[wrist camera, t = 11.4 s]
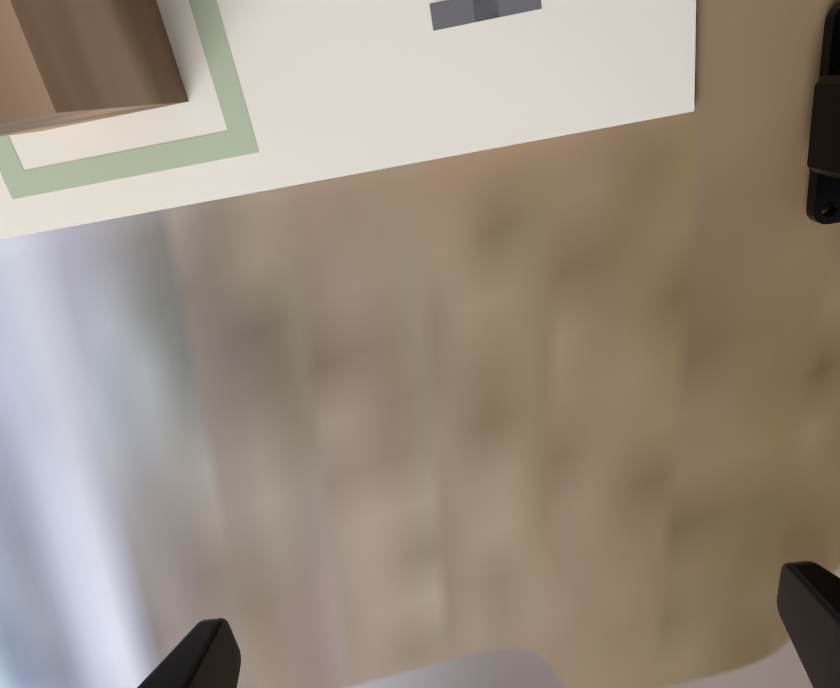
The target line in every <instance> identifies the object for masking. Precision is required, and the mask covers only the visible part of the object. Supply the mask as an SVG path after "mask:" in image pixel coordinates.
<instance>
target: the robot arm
mask: <svg viewBox="0 0 840 688" xmlns="http://www.w3.org/2000/svg"><path fill="white" fill-rule="evenodd" d="M807 165H808V167H809V168H810V178H809V188H808V198H807V208H806V210H807V215H808V217H809V218H810V219H811V220H813V221H815V222H818V223H821V224H832V223H838V222H840V3H838V4H837V5H835V6H834V7H833V8H832V9H831V10H830V12H829V13H828V15H827V17H826V21H825V25H824V35H823V46H822V56H821V66H820V76H819V81H818V82H817V84H816V85H815V88H814V99H813V109H812V119H811V130H810V140H809V151H808V161H807ZM827 202H830V207H829V210H828V211H827V212H826V213H823V214H822V211H821V210H822V207H823V206H824V205H825V204H826V203H827ZM777 607H778V611H779V614H780V617H781V619H782V621H783V623H784V626H785V628H786V630H787V632H788V634H789V636H790V638H791V641H792V642H793V645H794V647H795V649H796V651H797V653H798V656H799V658H800V660H801V662H802V664H803V666H804V668H805V671H806V673H807V675H808V677H809V679H810V681H811V684H812V686H813V687H814V688H840V578H839V577H837V576H836V575H834V574H833V573H831V572H829V571H828V570H826V569H825V568H823V567H822V566H820V565H818V564H817V563H814V562H811V561H801V562H791V563H786V564H784V565H783V566H782V568H781V573H780V580H779V587H778V594H777ZM240 665H241V654H240V650H239V647H238V644H237V642H236V640H235V637H234V635H233V632H232V630H231V628H230V625H229V623H228V621H227V620H225V619H224V618H218V619H207V620H203V621H201V622H199V623H198V624H197V625H196V626H195V627H194V628H193V629H192V630H191V631H190V632H189V633H188V634H187V635H186V636H185V637H184V638H183V639H182V641H181V642H180V643H179V644H178V645H177V646H176V647H175V648H174V649H173V650H172V651H171V652H170V653H169V654H168V655H167V656H166V658H165V659H164V660H163V661H162V662H161V663H160V664H159V665H158V666H157V667H156V668H155V669H154V670H153V671H152V672H151V674H150V675H149V676H148V677H147V678H146V679H145V680H144V681H143V682H142V683H141V684H140V685H139V686H138V687H137V688H237V683H238V677H239V672H240Z"/></svg>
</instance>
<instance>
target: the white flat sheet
mask: <svg viewBox="0 0 840 688" xmlns="http://www.w3.org/2000/svg"><path fill="white" fill-rule="evenodd" d="M156 1H157V4H158V7H159V10H160V13H161V16H162V20H163V23H164V26H165V29H166V32H167V35H168V38H169V42H170V45H171V48H172V51H173V54H174V57H175V60H176V64H177V67H178V70H179V73H180V76H181V79H182V82H183V86H184V89H185V92H186V95H187V98H188V101H189V102H184V103H179V104H174V105H170V106H165V107H160V108H155V109H150V110H145V111H140V112H135V113H130V114H125V115H120V116H115V117H110V118H105V119H100V120H95V121H90V122H85V123H80V124H75V125H70V126H65V127H60V128H55V129H50V130H45V131H40V132H32V133H24V134H17V135H9V136H1V137H0V239H6V238H11V237H17V236H22V235H27V234H33V233H38V232H44V231H49V230H54V229H60V228H65V227H71V226H76V225H81V224H87V223H92V222H98V221H103V220H108V219H114V218H119V217H125V216H130V215H136V214H141V213H146V212H152V211H157V210H163V209H168V208H173V207H179V206H184V205H190V204H195V203H200V202H206V201H211V200H217V199H222V198H227V197H233V196H238V195H244V194H249V193H255V192H260V191H265V190H271V189H276V188H282V187H287V186H292V185H298V184H303V183H309V182H314V181H319V180H325V179H330V178H336V177H341V176H346V175H352V174H357V173H363V172H368V171H373V170H379V169H384V168H390V167H395V166H401V165H406V164H411V163H417V162H422V161H428V160H433V159H438V158H444V157H449V156H455V155H460V154H465V153H471V152H476V151H482V150H487V149H492V148H498V147H503V146H509V145H514V144H520V143H525V142H530V141H536V140H541V139H547V138H552V137H557V136H563V135H568V134H574V133H579V132H584V131H590V130H595V129H601V128H606V127H611V126H617V125H622V124H628V123H633V122H639V121H644V120H649V119H655V118H660V117H666V116H671V115H676V114H682V113H687V112H693V111H694V93H695V34H696V0H156Z"/></svg>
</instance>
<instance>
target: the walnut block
mask: <svg viewBox="0 0 840 688" xmlns="http://www.w3.org/2000/svg"><path fill="white" fill-rule="evenodd" d="M184 102H189V101H188V98H187V95H186V92H185V89H184V86H183V82H182V79H181V76H180V73H179V70H178V67H177V64H176V60H175V57H174V54H173V51H172V48H171V45H170V42H169V38H168V35H167V32H166V29H165V26H164V23H163V20H162V16H161V13H160V10H159V7H158V4H157V1H156V0H0V137H1V136H9V135H17V134H24V133H32V132H40V131H45V130H50V129H55V128H60V127H65V126H70V125H75V124H80V123H85V122H90V121H95V120H100V119H105V118H110V117H115V116H120V115H125V114H130V113H135V112H140V111H145V110H150V109H155V108H160V107H165V106H170V105H174V104H179V103H184Z"/></svg>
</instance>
